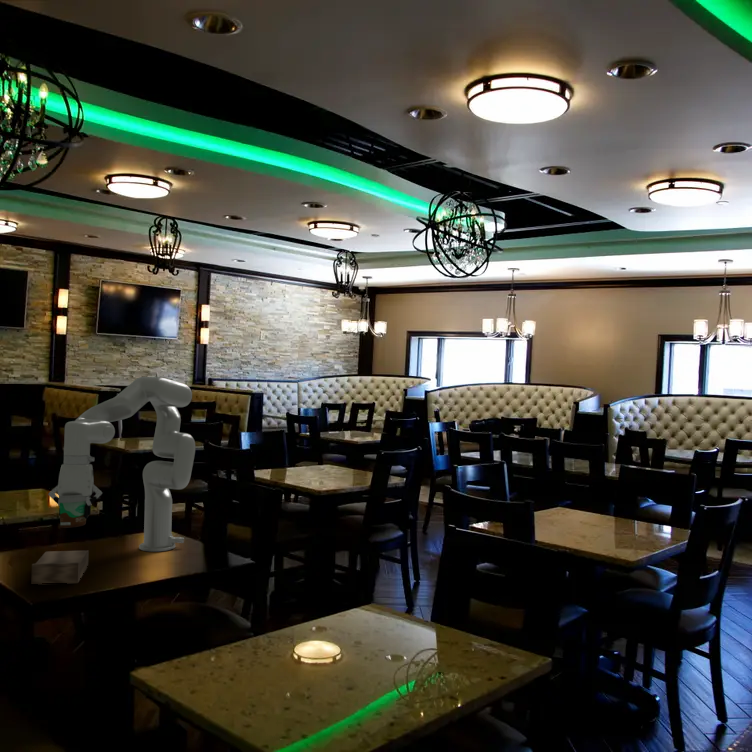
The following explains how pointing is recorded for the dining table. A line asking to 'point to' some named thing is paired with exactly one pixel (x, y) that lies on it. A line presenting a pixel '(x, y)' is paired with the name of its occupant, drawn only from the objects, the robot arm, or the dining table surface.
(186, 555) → the dining table surface
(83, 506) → the food container
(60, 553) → the brown rectangular block
